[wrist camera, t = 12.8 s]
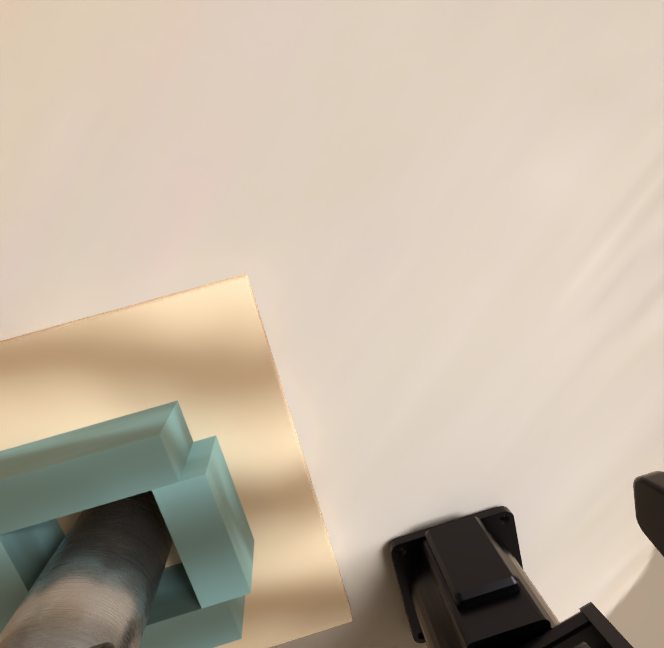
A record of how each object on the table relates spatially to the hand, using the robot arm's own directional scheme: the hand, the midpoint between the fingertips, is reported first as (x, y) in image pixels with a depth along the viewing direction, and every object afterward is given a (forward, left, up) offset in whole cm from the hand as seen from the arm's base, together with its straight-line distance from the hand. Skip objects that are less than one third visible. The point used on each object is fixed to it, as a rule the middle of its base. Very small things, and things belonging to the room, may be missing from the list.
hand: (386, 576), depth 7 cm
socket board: (-5, +10, -13) cm, 17 cm away
